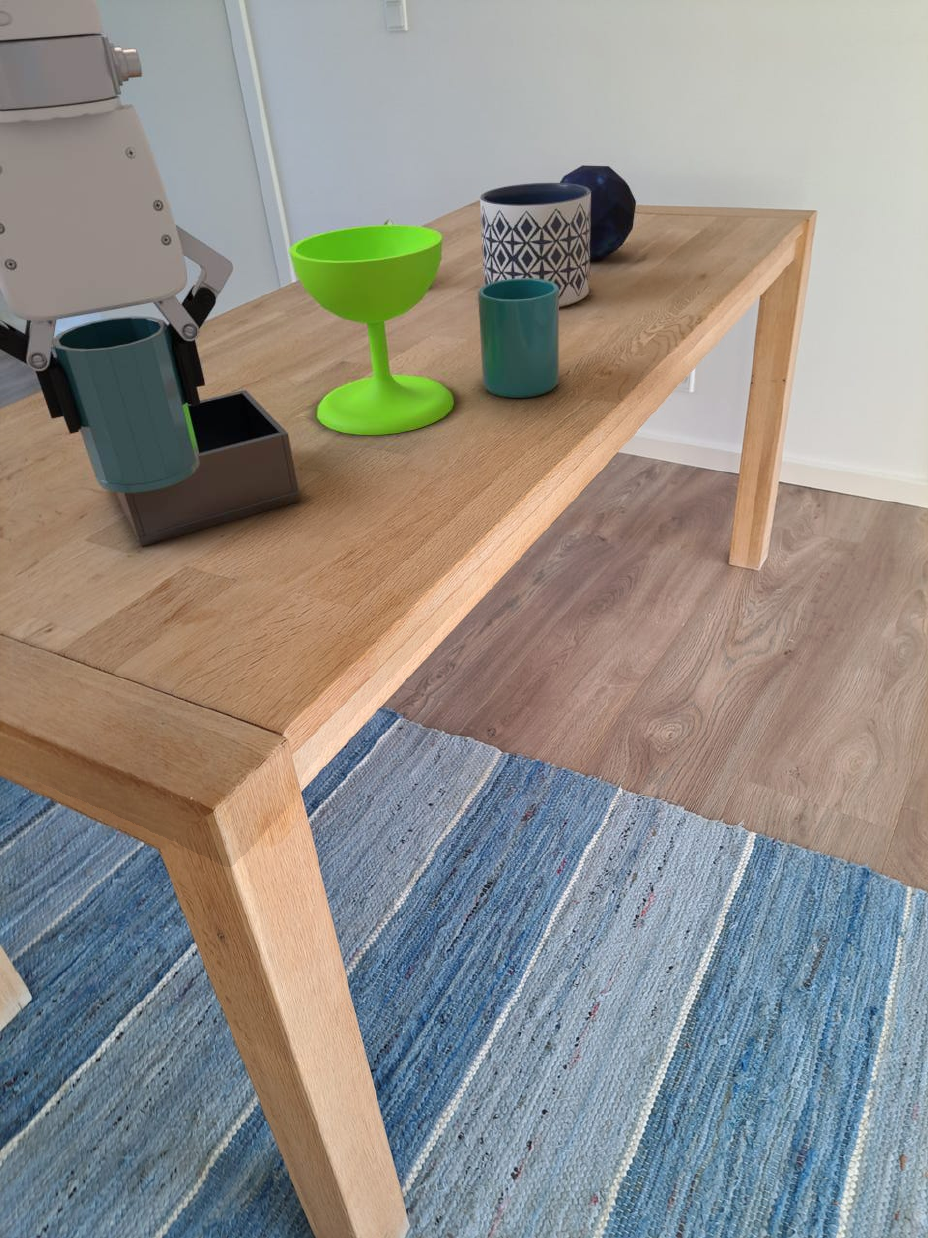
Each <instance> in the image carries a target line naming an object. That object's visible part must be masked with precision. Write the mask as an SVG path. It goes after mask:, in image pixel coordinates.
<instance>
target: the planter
mask: <svg viewBox="0 0 928 1238" xmlns="http://www.w3.org/2000/svg"><path fill="white" fill-rule="evenodd" d="M479 205H480V208H479V209H480V227H481V229H480V230H481V251H482V252H481V253H482V270H483V273H482V274H483V286H485V285H487V284H489V283H492V282H496V281H500V280H506V279H516V278H534V279H543V280H547V281H551V282H553V283H555V284H556V285H557V286H558V287H559V308H563V307H567V306H570V305H573V304H575V303H578V302H579V301H581V300H582V299H584V298H585V297H587V295H588V294H589V292H590V267H591V265H590V263H591V260H590V219H591V191H590V189H588V188H587V187H584V186H581V185H576V184H568V183H560V182H532V183H521V184H520V183H519V184H513V185H506V186H501V187H497V188H493V189H490V190H488V191H485V192H483V193H482V194H481V195H480V196H479ZM568 300H569V301H568Z"/></svg>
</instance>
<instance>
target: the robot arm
mask: <svg viewBox="0 0 928 1238" xmlns="http://www.w3.org/2000/svg"><path fill="white" fill-rule="evenodd" d="M102 33H104V28H103V24H102V19H101V15H100V10H99V7H98V3H97V0H0V293H1V296H2V297H3V299H4V302H5V303H6V305H7V307H8V309H9V310H10V312H11V313H12V314H13V315H14V316H15V317H17V318H19V319H22V320H25V323H24V330H23V332H22V331H21V330H19V329H18V328H15V326H12V325H11V324H9V323H7V322H6V321H3V320H1V319H0V351H3V352H4V353H6V354H7V355H9V356H11V357H13V358H15V359H16V360H18V361H20V362H22V363H24V364H25V365H27V366H28V367H29V369H31V370H33V371H35V375H36V377H37V380H38V383H39V386H40V388H41V392H42V395H43V397H44V398H43V399H44V401H45V403H46V406H47V409H48V412H49V416H50V418H51V419H52V420H53V419H58V418H61V417H62V418H63V419H64V422H65V425H66V427H67V429H68V432H69V435H71V434H76V433H79V432H80V429H81V426H80V423H79V420H78V417H77V413H76V410H75V407H74V404H73V401H72V398H71V395H70V392H69V389H68V386H67V383H66V379H65V376H64V373H63V370H62V368H61V366H60V364H59V362H58V360H57V357H55V355H54V353H53V351H52V349H53V339H54V338H55V331H56V325H57V320H63V319H68V318H74V317H79V316H86V315H91V314H97V313H102V312H108V311H114V310H119V309H124V308H129V307H135V306H140V305H145V304H150V303H151V304H152V303H153V305H154V306H155V308H157V309H158V310H159V312H160V313H161V314H162V316H163V317H164V318H165V320H166V321H167V322H168V324H167V325H168V328H169V332H170V336H171V340H172V345H173V349H174V353H175V357H176V361H177V365H178V369H179V373H180V377H181V382H182V386H183V390H184V394H185V398H186V402H187V404H188V405H192V406H196V405H200V401H201V399H200V396H199V395H200V394H199V391H198V388H201V387H204V386H205V385H206V381H205V377H204V372H203V367H202V364H201V359H200V355H199V350H198V346H197V342H196V340H197V339H198V338H199V336H200V329H201V327H202V326H203V325H204V323H205V321H206V320H207V318H208V316H209V315H210V314H211V312H212V311H213V309H214V307H215V305H216V303H217V298H218V296H219V295H220V294H221V292H222V291H223V289H224V288H225V286H226V284H227V282H228V280H229V278H230V277H231V276H232V273H233V271H234V267H233V263H232V262H231V261H230V260H229V259H228V258H227V257H225V256H224V255H223V254H221V253H219V252H217V251H216V249H214V248H212V247H210V246H209V245H207V244H206V243H204V242H203V241H201V240H200V239H198V238H197V237H196V236H194V235H192V234H191V233H189V232H188V231H186V230H185V229H183V228H182V227H180V226H179V225H177V224H176V222H175V219H174V216H173V212H172V209H171V206H170V205H171V204H170V203H169V199H168V196H167V191H166V190H165V189H166V188H165V185H164V182H163V180H162V176H161V173H160V170H159V166H158V164H157V161H156V158H155V156H154V152H153V150H152V147H151V145H150V141H149V139H148V136H147V134H146V131H145V129H144V127H143V124H142V122H141V119H140V117H139V115H138V113H137V110H136V108H135V106H134V105H133V104H132V103H122V102H121V97H120V96H119V95H122V91H121V87H123V86H124V83H123V82H129V81H130V79H133V78H134V79H135V78H142V77H143V71H142V70H143V69H142V63H141V61H140V56H139V53H138V51H137V49H136V48H135V47H131V48H129V47H128V48H122V47H121V45H115V46H114V43H113V42H110V41H109V37H108V35H103V34H102ZM185 257H186V258H187V259H190V260H191V261H192V262H194V263H196V264H197V265H198V266H199V267H200V273H199V276H198V277H197V280H196V282H195V284H194V285H192V287H191V288H190V290H189V291H188V293H187V295H185V297H184V299H183V300H182V302H181V301H179V299H178V298H177V296H176V295H178V294H180V293H181V292H182V291H183V290H184V289H185V288H186V286H187V283H188V273H187V266H186V261H185Z"/></svg>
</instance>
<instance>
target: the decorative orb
mask: <svg viewBox="0 0 928 1238" xmlns="http://www.w3.org/2000/svg"><path fill="white" fill-rule="evenodd" d="M559 183H568V184H576V185H581V186H584V187H587V188H588V189H590V191H591V219H590V261H593V262H594V261H595V262H600V261H602V260H604V259H606V258H607V257H609V256H610V255H612V254H614V253H615V252H616V251H618V250H619V249H620V248H621V247H622V246H623V245H624V243H625V242H626V240H627V239H628V237H629V235H630V234H631V232H632V230H633V228H634V222H635V214H636V207H637V206H636V205H637V200H636V198H635V196H634V194H633V191H632V189H631V187H630V186H629V184H628V183H627V182H626V180H625V179H624V178H623V177H621V176H620V174H618V173H617V172H616V171H615V170H614V169H612V167H610V165H586V164H585V165H583V164H582V165H581V166H579V167H577V168H575V169H574V170H572V171H570V172H568V173H567V174H565V175H563V176H562V178H561V180H560V181H559Z"/></svg>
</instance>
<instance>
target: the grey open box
mask: <svg viewBox="0 0 928 1238" xmlns="http://www.w3.org/2000/svg"><path fill="white" fill-rule="evenodd" d="M187 405H188V404H187ZM188 409H189V414H190V418H191V422H192V426H193V430H194V434H195V438H196V442H197V446H198V450H199V458H200V465H199V467H198V469H197V470H196V471H195V472H194V473H193V474H192V475H190V476H189V477H187V478H186V479H184V480H182V481H180V482H178V483H176V484H173V485H170V486H167V487H164V488H160V489H156V490H152V491H146V492H136V493H122V492H114V493H115V496H116V498H117V499H118V501H119V503H120V506H121V508H122V510H123V512H124V514H125V516H126V518H127V520H128V522H129V524H130V527H131V529H132V530H133V533H134V535H135V537H136V539H137V541H138V543H139V545H140V547H145V546H149V545H152V544H155V543H156V544H157V543H160V542H163V541H167V540H170V539H174V538H177V537H180V536H183V535H187V534H190V533H194V532H197V531H200V530H204V529H208V528H212V527H215V526H218V525H221V524H226V523H228V522H232V521H235V520H239V519H243V518H246V517H250V516H253V515H257V514H259V513H262V512H267V511H270V510H273V509H276V508H277V509H278V508H280V507H285V506H287V505H291V504H294V503H299V502H301V495H300V489H299V484H298V479H297V474H296V469H295V462H294V458H293V452H292V448H291V442H290V437H289V432H288V431H287V430H285V428H284V427H283V426H282V425H281V424H280V423H279V422H278V421H277V420H276V419H275V418H274V417H273V416H272V415H271V414H270V413H269V412H268V411H267V410H266V409H265V408H264V407H263V406H262V405H261V404H260V403H259V402H258V400H257V399H255V397H253V396H252V395H251V394H250V392H249V391H247V390H246V389H243V390H240V391H235V392H230V393H226V394H223V395H219V396H214V397H209V398H205V399H200V405H196V406H192V405H188Z"/></svg>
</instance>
